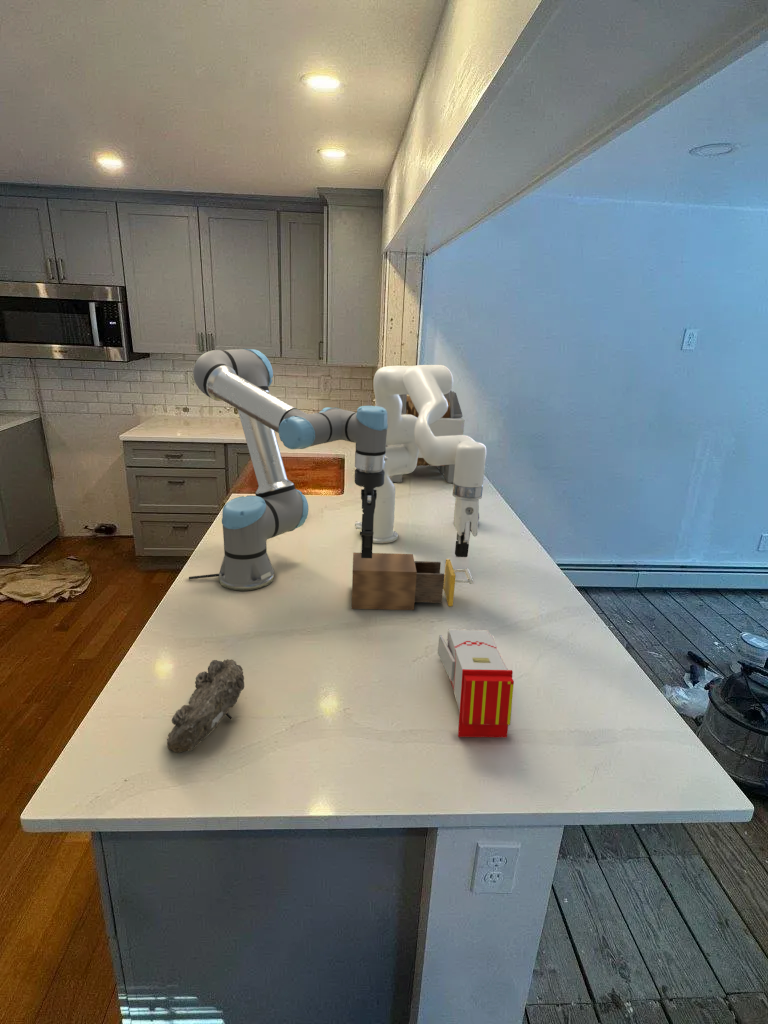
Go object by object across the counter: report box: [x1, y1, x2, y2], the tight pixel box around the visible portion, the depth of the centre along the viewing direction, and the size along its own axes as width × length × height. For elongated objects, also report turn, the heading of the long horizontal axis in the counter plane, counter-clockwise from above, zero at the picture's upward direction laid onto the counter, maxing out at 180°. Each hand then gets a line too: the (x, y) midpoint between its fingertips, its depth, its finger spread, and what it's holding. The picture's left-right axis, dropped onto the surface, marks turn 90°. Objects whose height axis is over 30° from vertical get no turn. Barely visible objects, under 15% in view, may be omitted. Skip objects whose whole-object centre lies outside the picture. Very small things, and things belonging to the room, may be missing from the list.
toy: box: [437, 628, 515, 738], centre depth 117 cm, size 12×13×30 cm
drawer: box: [414, 558, 475, 607], centre depth 153 cm, size 20×10×9 cm, turn 92°
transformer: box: [386, 390, 465, 484], centre depth 268 cm, size 34×33×41 cm
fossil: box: [166, 658, 245, 754], centre depth 106 cm, size 22×10×15 cm
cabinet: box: [351, 552, 417, 611], centre depth 153 cm, size 16×11×11 cm
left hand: (366, 546), depth 149 cm, fingers open, 13 cm apart
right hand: (461, 555), depth 151 cm, fingers closed
